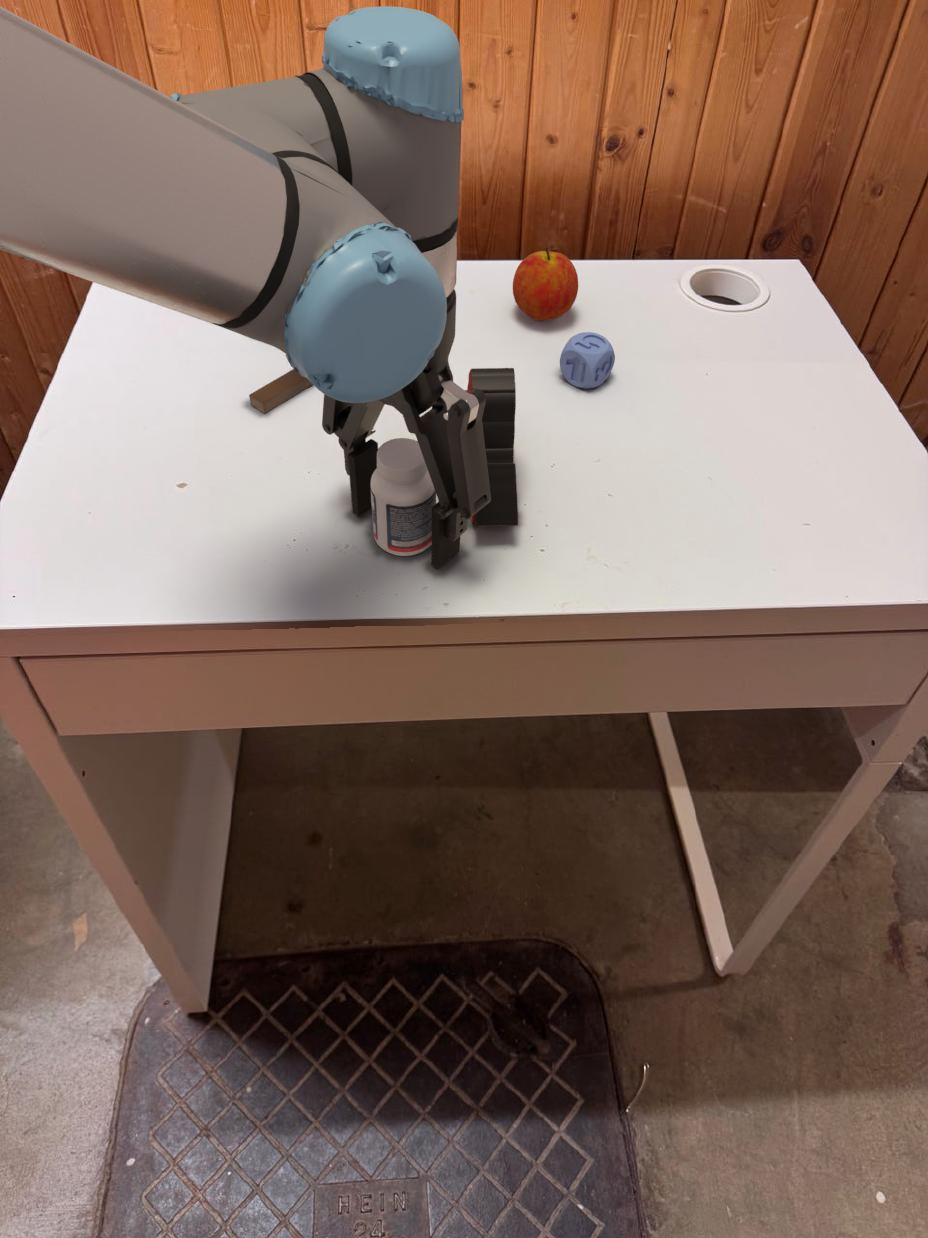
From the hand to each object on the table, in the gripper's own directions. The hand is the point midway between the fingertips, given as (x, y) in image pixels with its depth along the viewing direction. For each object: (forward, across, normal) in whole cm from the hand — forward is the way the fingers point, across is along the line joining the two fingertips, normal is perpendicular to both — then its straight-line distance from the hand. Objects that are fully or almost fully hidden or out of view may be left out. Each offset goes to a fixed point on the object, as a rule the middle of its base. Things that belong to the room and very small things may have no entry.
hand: (405, 531), depth 78 cm
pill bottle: (0, 0, 0) cm, 0 cm away
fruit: (+1, +12, -35) cm, 37 cm away
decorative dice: (+1, +2, -29) cm, 29 cm away
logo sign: (+1, 0, -10) cm, 10 cm away
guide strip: (0, +22, -15) cm, 26 cm away
